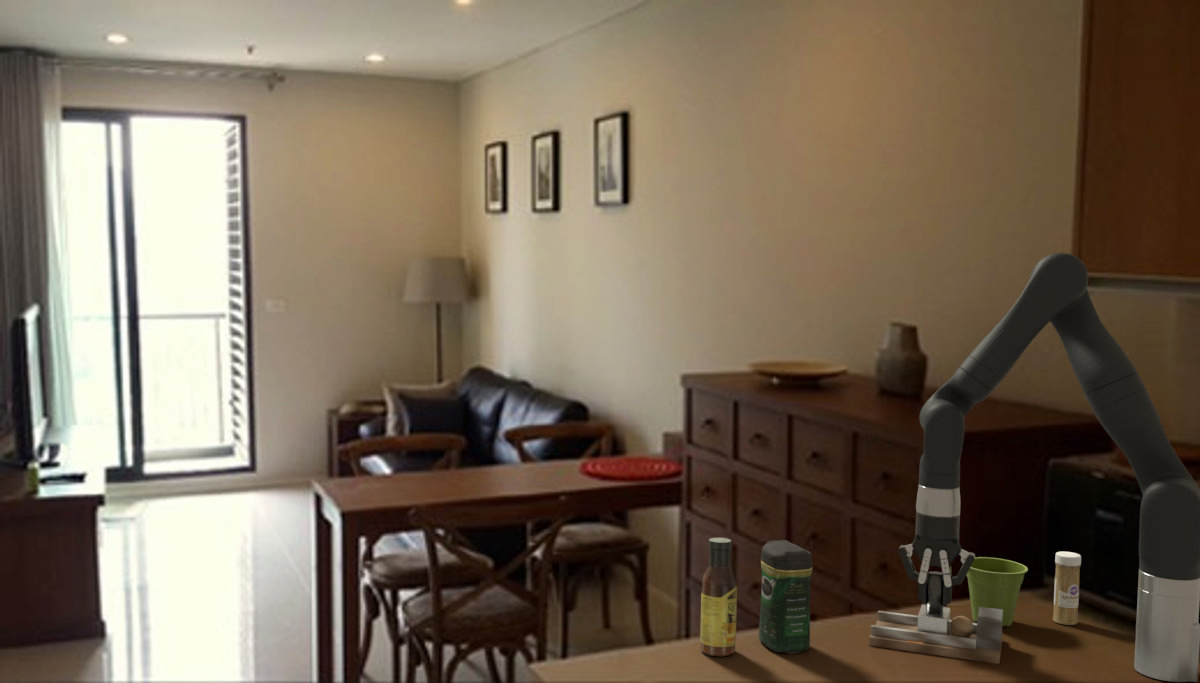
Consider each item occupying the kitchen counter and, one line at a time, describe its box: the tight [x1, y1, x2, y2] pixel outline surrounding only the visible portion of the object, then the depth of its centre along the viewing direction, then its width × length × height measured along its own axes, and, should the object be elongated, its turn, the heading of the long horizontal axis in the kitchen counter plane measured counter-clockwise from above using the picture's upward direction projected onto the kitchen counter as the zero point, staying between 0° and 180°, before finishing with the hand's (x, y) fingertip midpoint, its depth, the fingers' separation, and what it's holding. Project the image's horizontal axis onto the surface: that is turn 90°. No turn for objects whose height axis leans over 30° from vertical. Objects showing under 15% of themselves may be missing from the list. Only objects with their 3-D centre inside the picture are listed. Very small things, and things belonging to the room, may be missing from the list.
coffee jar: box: [758, 539, 813, 654], centre depth 192 cm, size 10×8×19 cm
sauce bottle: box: [699, 537, 738, 657], centre depth 189 cm, size 7×6×20 cm
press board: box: [868, 607, 1003, 665], centre depth 195 cm, size 22×13×6 cm, turn 68°
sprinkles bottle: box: [1052, 550, 1082, 626], centre depth 208 cm, size 5×5×14 cm
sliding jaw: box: [917, 571, 951, 635], centre depth 195 cm, size 5×7×11 cm
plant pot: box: [966, 556, 1029, 627], centre depth 207 cm, size 12×12×11 cm
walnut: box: [950, 615, 974, 638], centre depth 194 cm, size 4×4×4 cm
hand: (934, 603), depth 195 cm, fingers closed on sliding jaw, 3 cm apart
